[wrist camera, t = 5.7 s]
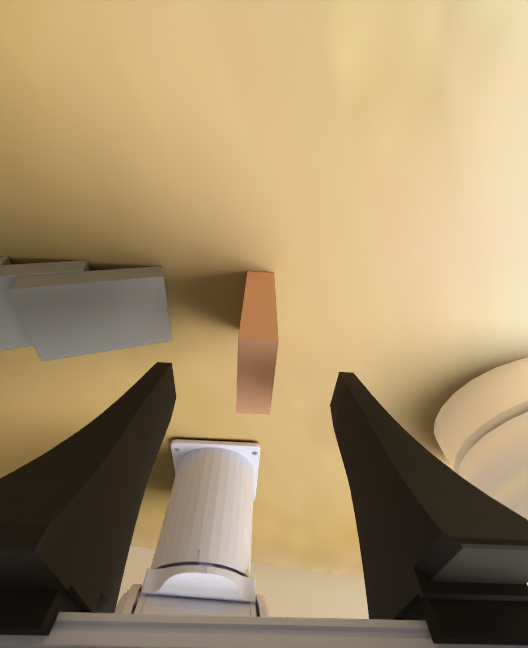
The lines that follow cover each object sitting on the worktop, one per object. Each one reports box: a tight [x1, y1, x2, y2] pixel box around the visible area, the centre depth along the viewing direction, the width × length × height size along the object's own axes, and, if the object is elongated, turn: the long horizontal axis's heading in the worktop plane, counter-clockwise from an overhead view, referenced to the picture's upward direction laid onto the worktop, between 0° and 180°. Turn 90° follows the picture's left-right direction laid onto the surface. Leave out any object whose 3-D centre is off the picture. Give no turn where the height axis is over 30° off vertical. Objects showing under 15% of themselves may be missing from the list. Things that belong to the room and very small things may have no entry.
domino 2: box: [8, 266, 172, 361], centre depth 17 cm, size 4×2×7 cm
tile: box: [236, 271, 278, 415], centre depth 16 cm, size 4×2×7 cm, turn 176°
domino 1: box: [0, 260, 90, 350], centre depth 16 cm, size 4×2×7 cm
